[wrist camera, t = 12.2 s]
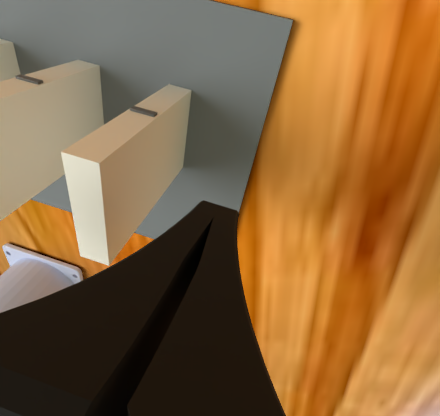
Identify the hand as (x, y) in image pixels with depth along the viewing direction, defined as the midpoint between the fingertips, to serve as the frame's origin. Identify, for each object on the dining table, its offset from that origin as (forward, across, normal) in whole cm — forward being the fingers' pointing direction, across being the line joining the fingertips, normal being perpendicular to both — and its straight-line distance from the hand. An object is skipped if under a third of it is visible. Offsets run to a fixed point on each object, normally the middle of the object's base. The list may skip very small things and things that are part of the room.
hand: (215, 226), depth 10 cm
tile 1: (+7, +4, 0) cm, 8 cm away
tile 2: (+7, +9, 0) cm, 11 cm away
